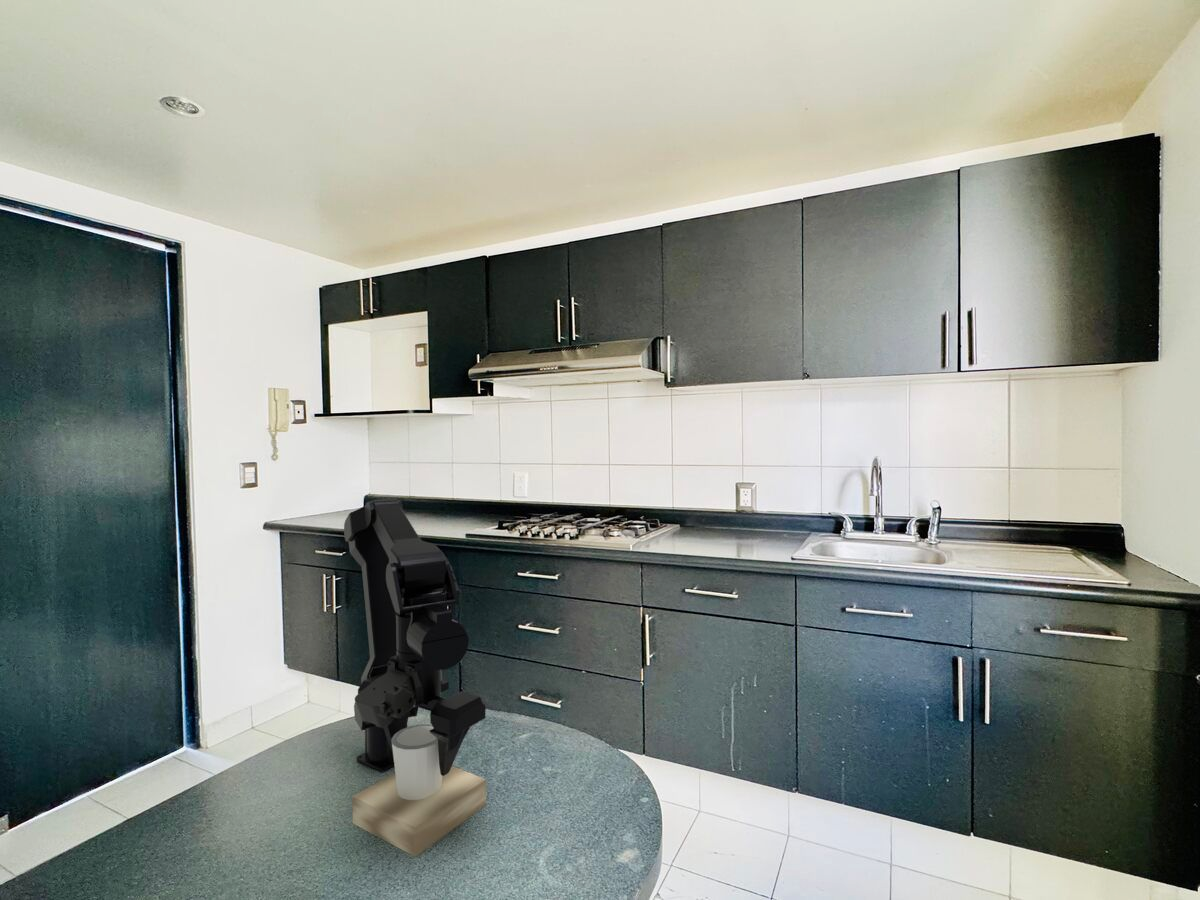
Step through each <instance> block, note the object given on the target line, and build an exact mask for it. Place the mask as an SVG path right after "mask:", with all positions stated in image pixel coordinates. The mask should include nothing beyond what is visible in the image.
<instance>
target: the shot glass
mask: <svg viewBox="0 0 1200 900" xmlns="http://www.w3.org/2000/svg"><path fill="white" fill-rule="evenodd" d="M432 729H434V728H433V726H432V724H431V723H418V724H413V725H409V726H407V727H406V728H404V729H401V730H400V731H398V732H397V733H396V734H394V736H393V737H392V739H391V740H392V748H393V757H394V766H393V767H394V773H395V774H396V783H397V791H398V795H399V796H400V797H401V798H403V799H407V800H420V799H424V798H427V797H429V796H431V795H433V794H435V793H436V792H437V791H438V790H439V789H440V787H441V785H442V775H441V773H440V767H439V753H438V739H437V738H436V737H435V736H434V735H433V734H431V733H430V730H432Z"/></svg>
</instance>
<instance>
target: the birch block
mask: <svg viewBox="0 0 1200 900" xmlns="http://www.w3.org/2000/svg"><path fill="white" fill-rule="evenodd" d="M485 806H487V779H486V778H483V777H481V776H479V775H476V774H473V773H470V772H468V771H466V770H463V769H460V768H458V767H456V766H453V765H452V767H451V769H450V771H449V773H448V774H446V775H444V776H442V785H441V787H440V789H439V790H438V791H437V792H436V793H435V794H433V795H431V796H429V797H427V798H424V799H420V800H407V799H403V798H401V797H400V796H399V795H398V791H397V783H396V774H395V772H394V773H392V774H389V775H388V776H387V777H384V778H383V779H381V780H379V781H378V782H376V783H374V784H372V785H370V786H368V787H366V788H365V789H363V790H362V791H360V792H358V793H356V794H354V795H352V824H353V825H355V826H356V827H358V828H360V829H362V830H365V831H366V832H368V833H370V834H371V835H373V836H376V837H377V838H379V839H381V840H383V841H385V842H387V843H389V844H391V845H392V846H394V847H396V848H399V849H400V850H402V851H404V852H406V853H407V854H409V855H411V856H413V857H417V856H419V855H420V854H422V853H423V852H424V851H426V850H427V849H428V848H429V847H431V846H433V845H434V844H435V843H436V842H438V841H439V840H441V839H442V838H443V837H444V836H446V835H448V833H450V832H451V831H453V830H455V828H457V827H458V826H460V825H461V824H463V823H464V822H465V821H466V820H468V819H469V818H470V817H472V816H473V815H474V814H476V813H477V812H478V811H479V812H480V810H481V809H483V808H484V807H485Z"/></svg>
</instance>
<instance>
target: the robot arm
mask: <svg viewBox="0 0 1200 900" xmlns="http://www.w3.org/2000/svg"><path fill="white" fill-rule="evenodd" d="M343 534H344V540H345V542H348V548H349V554H350V555H351V556H352V557H353V558H354V560H355V561H356V563H358V565H359V566H360V567H361V574H362V583H363V593H364V594H363V596H364V605H365V606H364V607H365V617H366V626H367V627H366V628H367V638H368V639H367V640H368V648H369V660H368V662H367V664H366V666H365V669H364V671H363V673H362V675H361V678H360V683H361V684H360V685H359V687H358V689H357V694H356V695H355V697H354V703H353V704H354V705H353V712H354V721H355V722H356V724H357V726H358V728H359V729H360V730H361V731H364V749H365V750H364V751H365V752H363V753H361V754H359V755H358V756H356V762H358V763H361V764H363V765H366V766H369V767H371V768H373V769H375V770H376V771H379V772H385V771H387V770H388V769H390V768H392V767H395V766H394V757H393V748H392V740H391V739H392V737H393V736H394V734H396V733H397V732H398V731H400V730H401V729H404V728H406V727H408V723H409V719H410V718H412V717H413V718H415V717H417V716H418V711H419V708H420V709H423V710H426V711H429V712H430V714H429V715H430V717H429V720H430V724H432V726H433V728H434V729H432V730H430V733H431V734H433V735H434V736H435V737H436V738H437V739H438V753H439V767H440V773H441V775H442V776H444V775H446V774H448V773H449V771H450V769H451V767H452V766H453V764H454V762H455V760H456V757H457V755H458V753H459V750H460V748H461V745H462V743H463V741H464V739H465V738H466V736H467V734H468V733H469V731H470V728H471V727H472V726H475V725H476V724H477V723H479V722H481V721H483V720H485V719H486V701H485V699H483V698H482V697H481V696H480V695H476V694H472V693H469V692H466V691H462V690H461V691H458V692H457V693H455V694H452V695H451V696H449V697H442V693H444V692H445V691H447V690H450V689H449V688H450V687H449V686H450V685H449V684H450V683H449V681H447V680H444V679H443V671H444V670H448V669H451V668H453V667H455V666H456V665H458V664H459V663H460V662H461V661H462V660H463V658H464V657H465V655H466V653H467V651H468V647H469V642H470V641H469V636H468V634H467V631H466V629H465V628H464V626H463V625H462V624H460V623H459V622H458V621H456V620H454V619H453V610H452V609H450V608H448V607H453V606H458V605H459V604H460V601H459V597H458V596H459V594H460V592H461V591H460V588H459V585H458V581H457V578H456V576H455V573H454V570H453V567H452V565H451V563H450V561H449V559H448V557H446V556H445V554H444V552H443V551H442V550H441V549H440V548H439V547H438V546H437V545H436V544H434V543H431V542H429V541H428V542H427V541H425V540H422V539H421V537H419V535H418V533H417V531H416V530H415V528H414V526H413V525H412V524H411V522H410V520H409V518H408V516H407V514H406V513H405V512H404V505H403V502H402V501H401V500H400V499H399V500H397V499H396V498H390V499H389V498H388V499H373V500H371V501H367V502H366V504H365V505H364V506H362V507H360V508H358V509H356V510H354V511H352V512H350V513H348V515H347V517H346V519H344V524H343ZM443 590H444V592H443Z"/></svg>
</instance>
